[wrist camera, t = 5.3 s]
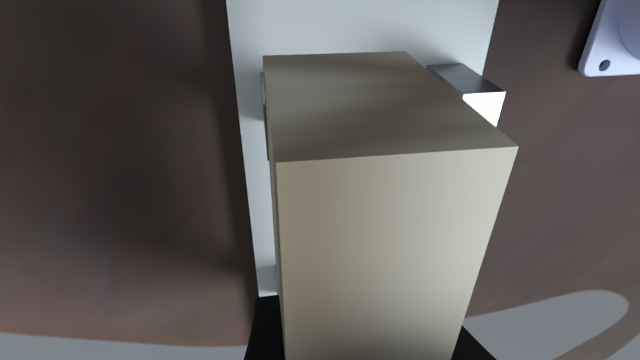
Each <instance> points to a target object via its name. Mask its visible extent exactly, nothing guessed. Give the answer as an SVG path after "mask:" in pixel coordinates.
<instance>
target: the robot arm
mask: <svg viewBox="0 0 640 360" xmlns="http://www.w3.org/2000/svg"><path fill="white" fill-rule="evenodd" d="M602 61H604V62H603V64H602V65H601V66H600V67H599V65H600V64H601V62H602ZM578 70H579V72H580V73H581V74H583V75H585V76H588V77H593V76H612V75H632V74H640V0H601V3H600V6H599V9H598V11H597V14H596V17H595V20H594V23H593V25H592V28H591V31H590V34H589V37H588V39H587V42H586V45H585V48H584V51H583V53H582V56H581V59H580V62H579V65H578ZM244 360H284V345H283V331H282V320H281V310H280V300H279V295H271V296H262V297H259V298H257V299H256V301H255V313H254V320H253V325H252V330H251V334H250V339H249V343H248V347H247V350H246V354H245V357H244ZM451 360H496V359H495V358H494V357H493V356H492V355H491V354H490V353H489V352H488V351H487V350H486V349H485V348H484V347H483V346H482V345H481V344H480V343H479V342H478V341H477V340H476V339H475V338H474V337H473V336H472V335H471V334H470V333H469V332H468V331H467V330H466V329H465V328H464V327H463V326H461V329H460V332H459V335H458V339H457V342H456V345H455V348H454V351H453V354H452V357H451Z"/></svg>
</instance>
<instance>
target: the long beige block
mask: <svg viewBox="0 0 640 360" xmlns="http://www.w3.org/2000/svg"><path fill="white" fill-rule="evenodd" d="M262 58H263V74H264V90H265V105H266V121H267V136H268V152H269V167H270V183H271V198H272V214H273V230H274V245H275V261H276V276H277V292H278V295H279V300H280V310H281V320H282V331H283V345H284V360H451V357H452V354H453V351H454V348H455V345H456V342H457V339H458V335H459V332H460V329H461V326H462V323H463V320H464V317H465V313H466V310H467V307H468V304H469V301H470V298H471V295H472V292H473V288H474V285H475V282H476V279H477V276H478V273H479V270H480V266H481V263H482V260H483V257H484V254H485V251H486V248H487V244H488V241H489V238H490V235H491V232H492V229H493V226H494V222H495V219H496V216H497V213H498V210H499V207H500V204H501V200H502V197H503V194H504V191H505V188H506V185H507V182H508V178H509V175H510V172H511V169H512V166H513V163H514V160H515V157H516V153H517V150H518V147H519V146H518V145H516V144H515V143H514V142H513V141H512V140H510V139H509V138H508V137H507V136H506V135H504V134H503V133H502V132H501V131H500V130H499V129H497V128H496V127H495V126H494V125H493V124H491V123H490V122H489V121H488V120H487V119H485V118H484V117H483V116H482V115H481V114H479V113H478V112H477V111H476V110H475V109H473V108H472V107H471V106H470V105H469V104H467V103H466V102H465V101H464V100H463V99H462V98H460V97H459V96H458V95H457V94H456V93H454V92H453V91H452V90H451V89H450V88H448V87H447V86H446V85H445V84H444V83H442V82H441V81H440V80H439V79H438V78H436V77H435V76H434V75H433V74H432V73H430V72H429V71H428V70H427V69H426V68H424V67H423V66H422V65H421V64H420V63H419V62H417V61H416V60H415V59H414V58H413V57H411V56H410V55H409V54H408V53H407V52H405V51H394V52H361V53H329V54H296V55H264V56H262Z"/></svg>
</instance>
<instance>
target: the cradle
mask: <svg viewBox="0 0 640 360" xmlns="http://www.w3.org/2000/svg"><path fill="white" fill-rule="evenodd" d="M498 2H499V0H226V6H227V15H228V24H229V32H230V41H231V50H232V59H233V68H234V77H235V86H236V95H237V104H238V113H239V122H240V131H241V140H242V149H243V157H244V166H245V175H246V184H247V193H248V202H249V211H250V220H251V229H252V238H253V247H254V256H255V265H256V274H257V283H258V291H259V297H262V296H271V295H278V292H277V276H276V261H275V245H274V230H273V214H272V198H271V183H270V167H269V152H268V136H267V121H266V105H265V90H264V74H263V58H262V56H264V55H296V54H329V53H361V52H394V51H405V52H407V53H408V54H409V55H410V56H411V57H413V58H414V59H415V60H416V61H417V62H419V63H420V64H421V65H422V66H423V67H424V68H426V69H427V70H428V71H429V72H430V73H432V74H433V75H434V76H435V77H436V78H438V79H439V80H440V81H441V82H442V83H444V84H445V85H446V86H447V87H448V88H450V89H451V90H452V91H453V92H454V93H456V94H457V95H458V96H459V97H460V98H462V99H463V100H464V101H465V102H466V103H467V104H469V105H470V106H471V107H472V108H473V109H475V110H476V111H477V112H478V113H479V114H481V115H482V116H483V117H484V118H485V119H487V120H488V121H489V122H490V123H491V124H493V125H494V126H495V127H496V126H497V122H498V118H499V115H500V111H501V107H502V104H503V100H504V96H505V91H504V90H502V89H501V88H499V87H498V86H496V85H495V84H493V83H492V82H490V81H489V80H487V79H486V78H484V77H483V76H482V72H483V68H484V64H485V59H486V55H487V51H488V46H489V42H490V37H491V33H492V29H493V24H494V20H495V16H496V11H497V7H498Z"/></svg>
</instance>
